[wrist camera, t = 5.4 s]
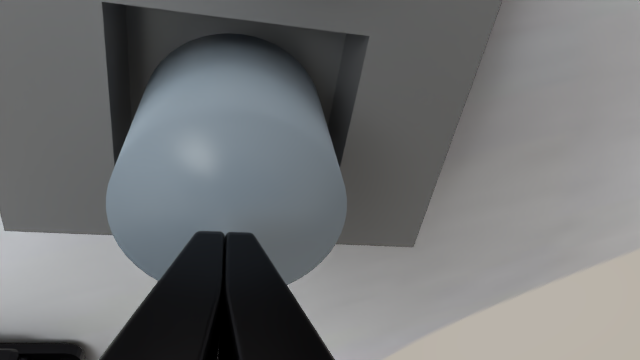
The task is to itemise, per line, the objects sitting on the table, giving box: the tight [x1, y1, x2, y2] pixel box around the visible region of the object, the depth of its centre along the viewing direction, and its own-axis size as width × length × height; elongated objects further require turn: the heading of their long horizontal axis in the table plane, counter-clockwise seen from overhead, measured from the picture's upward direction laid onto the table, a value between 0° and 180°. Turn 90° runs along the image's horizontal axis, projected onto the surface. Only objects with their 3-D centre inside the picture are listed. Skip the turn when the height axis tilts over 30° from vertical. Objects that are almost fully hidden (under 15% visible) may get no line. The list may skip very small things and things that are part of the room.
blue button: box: [106, 33, 347, 285], centre depth 10 cm, size 4×4×4 cm
